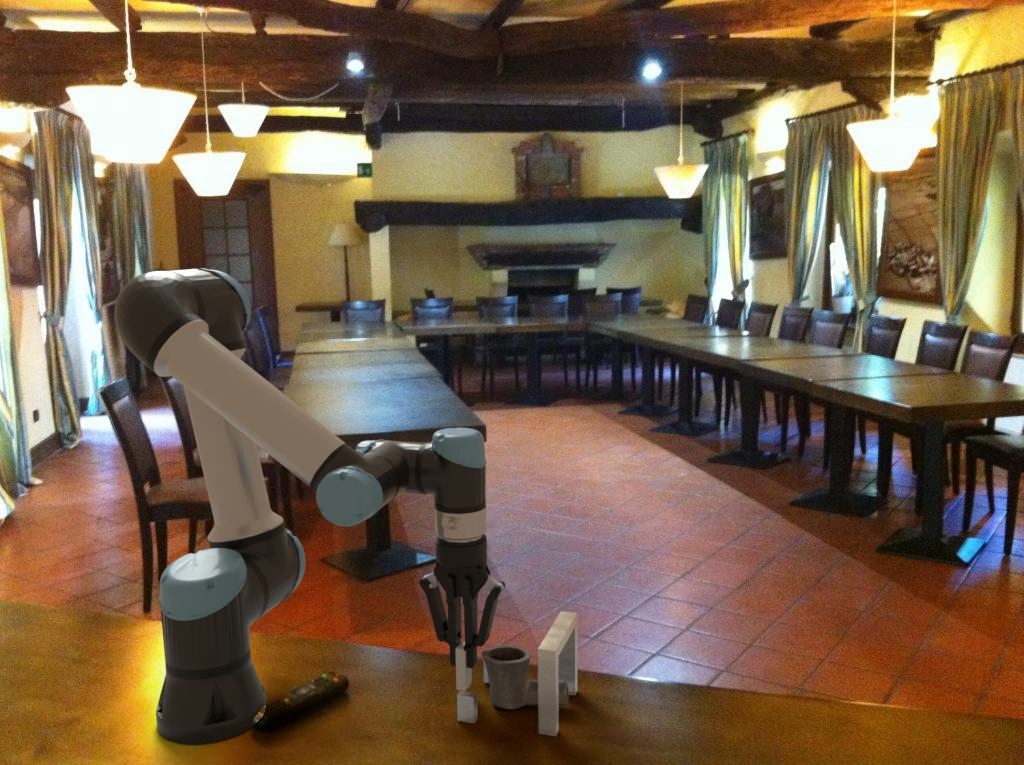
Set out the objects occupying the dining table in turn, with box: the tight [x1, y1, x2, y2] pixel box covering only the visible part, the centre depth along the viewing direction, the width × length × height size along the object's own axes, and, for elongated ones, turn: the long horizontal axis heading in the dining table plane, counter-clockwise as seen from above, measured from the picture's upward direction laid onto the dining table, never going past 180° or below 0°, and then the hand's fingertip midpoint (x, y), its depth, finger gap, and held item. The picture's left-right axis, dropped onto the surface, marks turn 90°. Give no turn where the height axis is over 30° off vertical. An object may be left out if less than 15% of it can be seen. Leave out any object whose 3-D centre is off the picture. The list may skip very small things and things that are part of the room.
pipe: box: [481, 644, 570, 710], centre depth 129 cm, size 6×13×8 cm, turn 81°
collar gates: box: [456, 610, 578, 737], centre depth 129 cm, size 14×13×12 cm
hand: (464, 685), depth 132 cm, fingers closed
